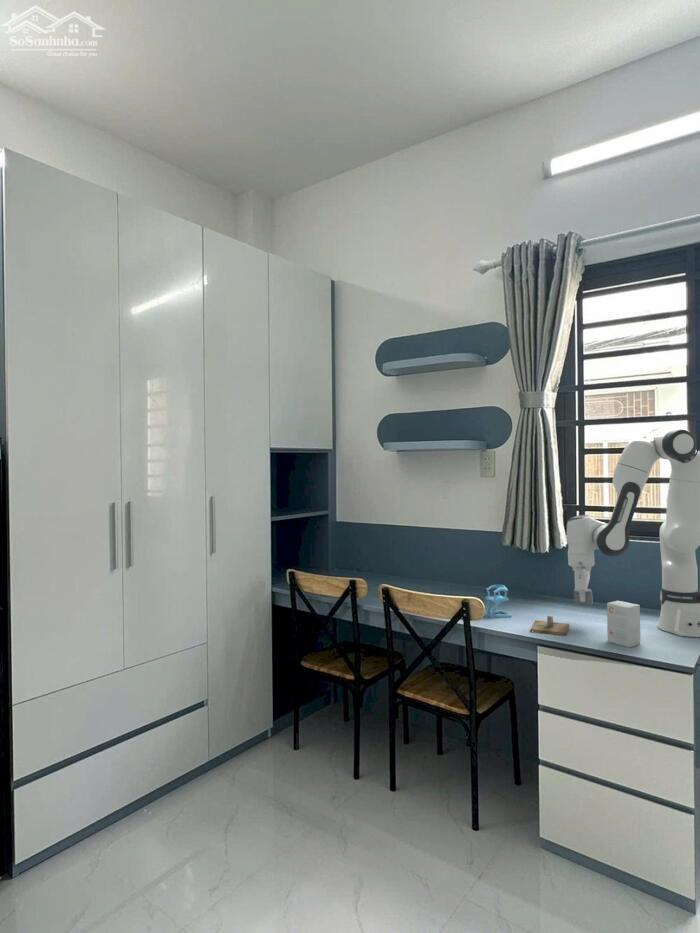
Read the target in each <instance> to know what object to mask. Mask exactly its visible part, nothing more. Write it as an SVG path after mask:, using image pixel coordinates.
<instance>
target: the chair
mask: <svg viewBox="0 0 700 933" xmlns="http://www.w3.org/2000/svg"><path fill="white" fill-rule="evenodd" d="M485 589H486V592H487V596H485V599H486V603H487V604H486V613H485V614H486V615H485V616H486V617H489V618H494V619H495V618H512V617H513V616H512V614H511V613H508V612H506V611H503V610H501V609H499V610H497V609H498V607H499V606H500V604H502V603H505V602H509V600H510V598H508V597H507V595H508V590H509V589H508V587H506V586H505V585H504V584H493V585H490V586H489V587H487V588H485ZM491 589H495V590H493V595H492V596H491V593H490V590H491ZM501 592H504V595H503V596H502V595H501ZM492 602H493V603H494V606H493V608H492ZM491 608H492V610H491Z"/></svg>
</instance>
